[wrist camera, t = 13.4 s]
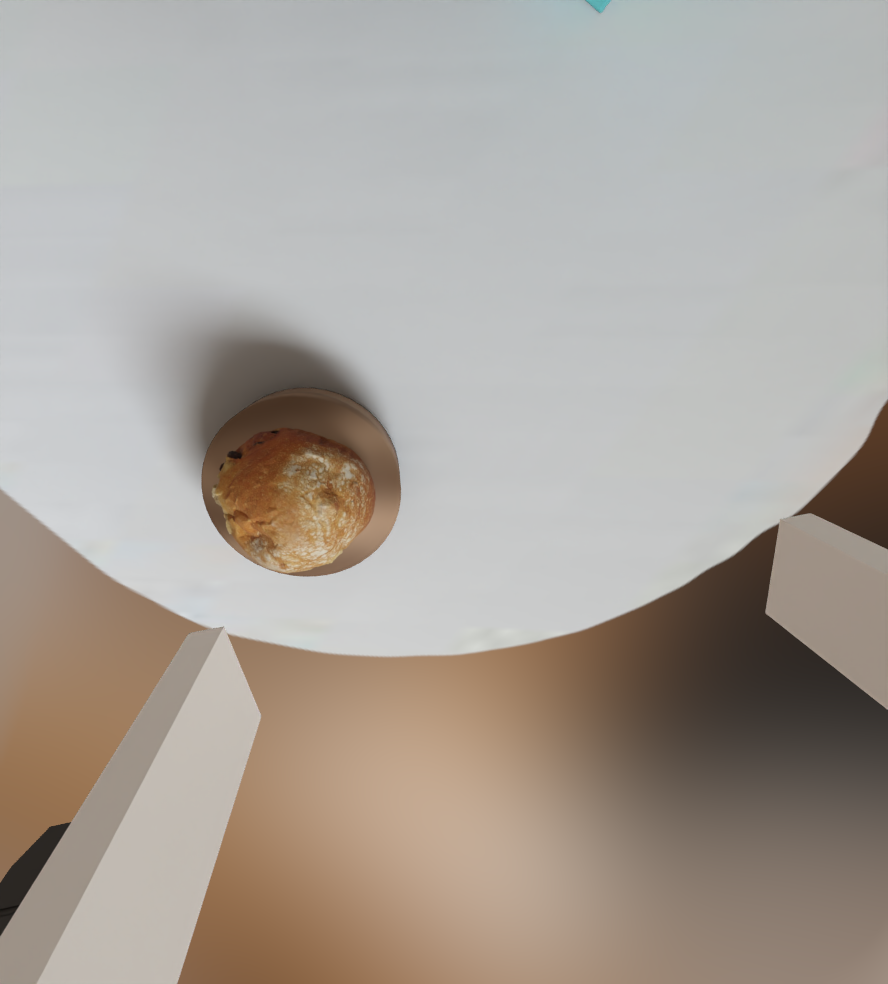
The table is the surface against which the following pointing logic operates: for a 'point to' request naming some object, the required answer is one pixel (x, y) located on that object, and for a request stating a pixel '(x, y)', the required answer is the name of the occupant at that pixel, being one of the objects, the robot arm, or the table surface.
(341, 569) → the walnut stand
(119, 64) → the table surface
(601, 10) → the game box
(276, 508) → the bread roll
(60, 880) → the robot arm
